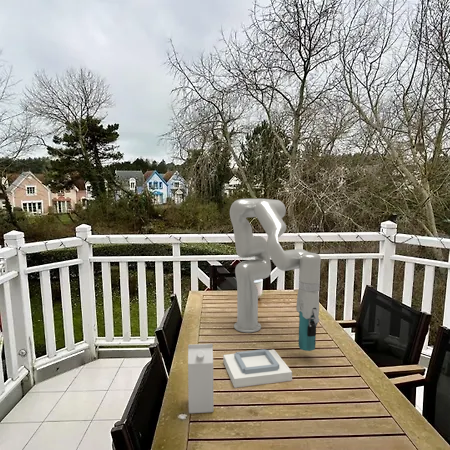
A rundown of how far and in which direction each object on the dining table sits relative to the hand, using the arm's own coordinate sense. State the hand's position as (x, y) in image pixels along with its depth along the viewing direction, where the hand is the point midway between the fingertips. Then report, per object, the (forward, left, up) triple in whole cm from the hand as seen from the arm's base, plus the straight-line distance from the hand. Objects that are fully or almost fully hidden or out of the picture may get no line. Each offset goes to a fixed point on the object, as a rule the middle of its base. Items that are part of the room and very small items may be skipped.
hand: (307, 331), depth 131 cm
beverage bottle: (0, 0, -8) cm, 8 cm away
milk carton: (+21, -44, -11) cm, 50 cm away
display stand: (+5, -22, -10) cm, 25 cm away
